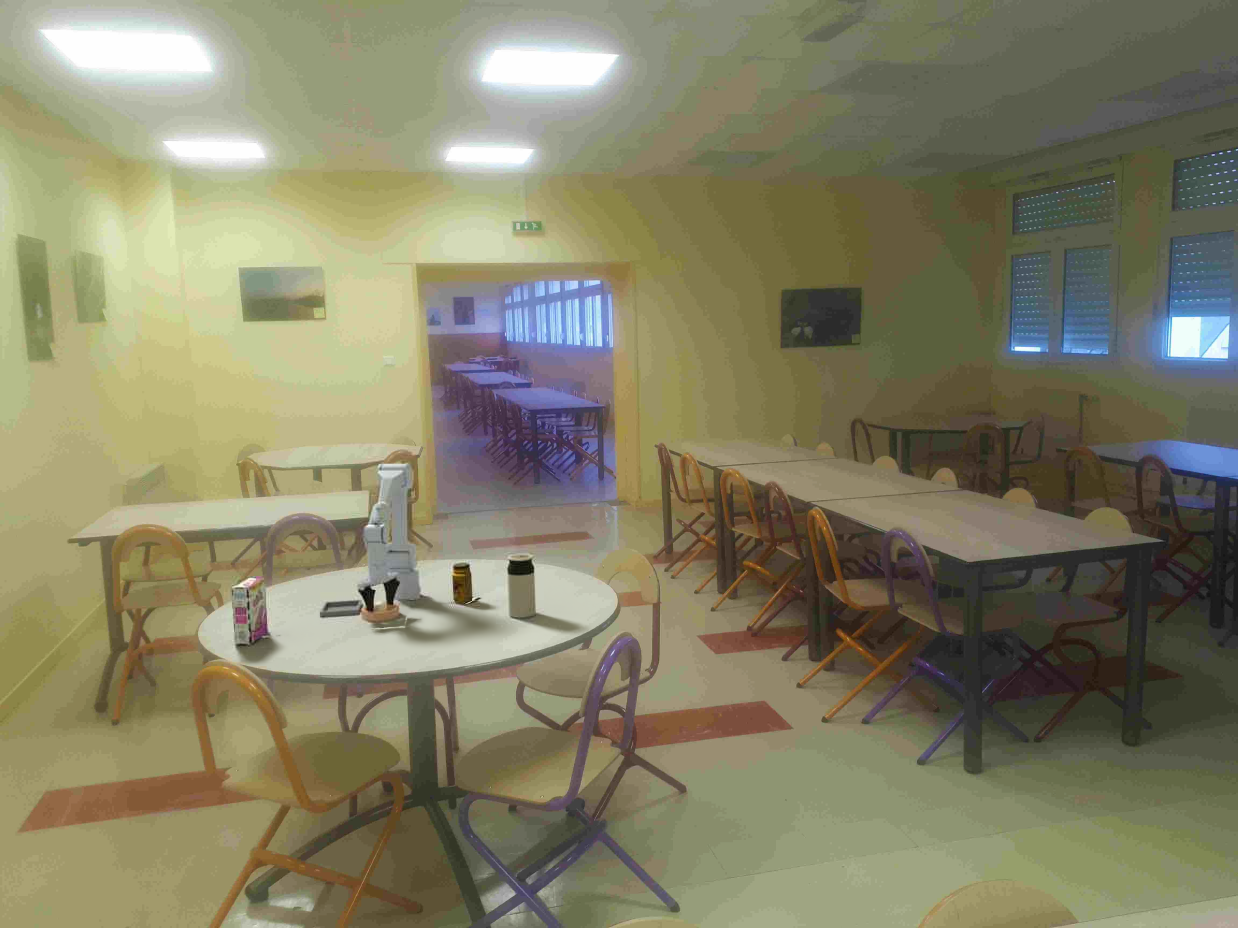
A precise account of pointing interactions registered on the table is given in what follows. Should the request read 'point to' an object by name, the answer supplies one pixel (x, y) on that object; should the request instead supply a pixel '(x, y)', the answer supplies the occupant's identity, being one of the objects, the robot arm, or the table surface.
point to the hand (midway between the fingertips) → (380, 607)
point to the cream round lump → (380, 606)
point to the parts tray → (341, 608)
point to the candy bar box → (249, 611)
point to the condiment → (462, 583)
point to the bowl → (381, 613)
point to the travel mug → (521, 586)
